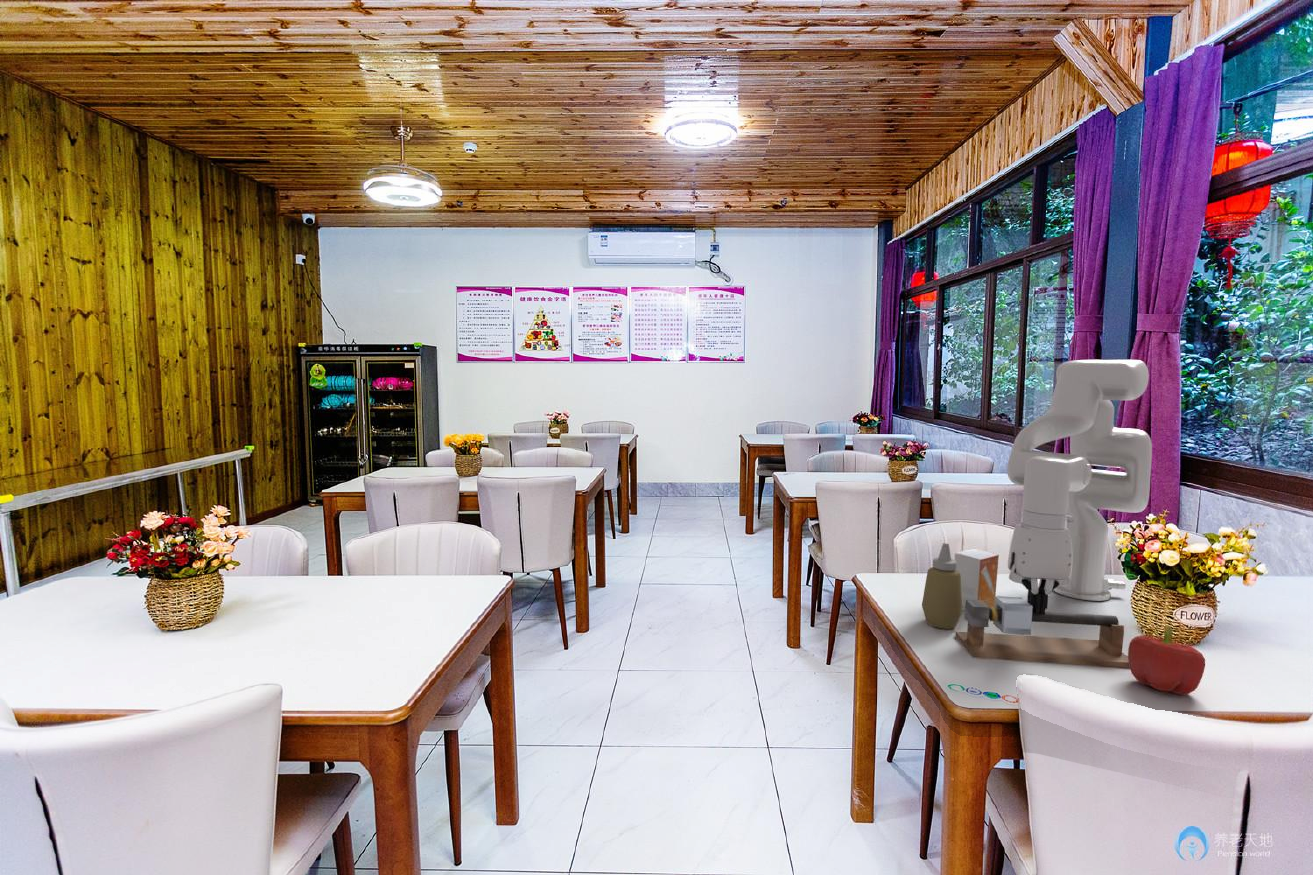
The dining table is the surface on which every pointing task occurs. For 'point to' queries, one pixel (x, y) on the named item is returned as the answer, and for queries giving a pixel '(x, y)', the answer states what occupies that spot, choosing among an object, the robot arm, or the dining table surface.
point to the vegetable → (1165, 663)
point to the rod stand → (1044, 639)
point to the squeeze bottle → (943, 592)
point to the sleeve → (1014, 615)
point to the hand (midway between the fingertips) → (1036, 611)
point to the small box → (977, 575)
